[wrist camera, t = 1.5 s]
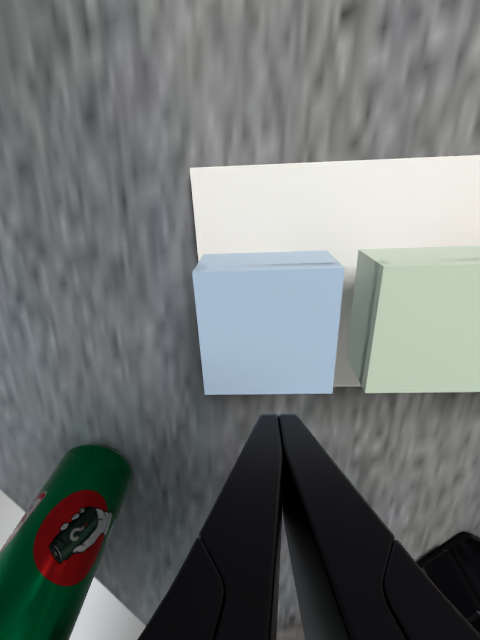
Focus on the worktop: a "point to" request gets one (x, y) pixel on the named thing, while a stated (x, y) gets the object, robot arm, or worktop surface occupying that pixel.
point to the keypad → (338, 213)
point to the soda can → (61, 544)
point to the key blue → (268, 321)
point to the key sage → (416, 320)
